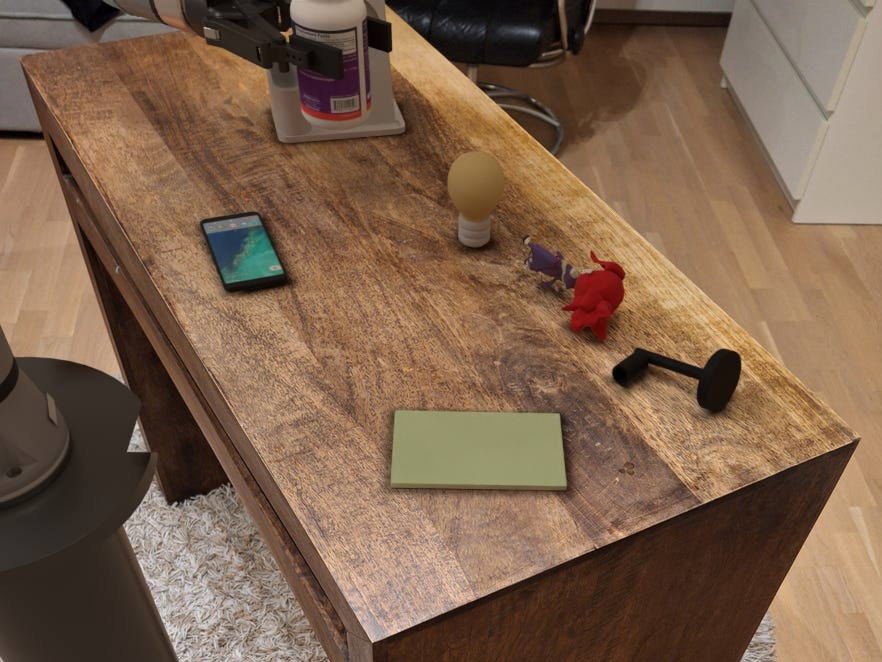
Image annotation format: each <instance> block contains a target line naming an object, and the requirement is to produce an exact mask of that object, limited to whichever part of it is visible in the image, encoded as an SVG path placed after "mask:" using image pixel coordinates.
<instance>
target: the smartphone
mask: <svg viewBox="0 0 882 662" xmlns="http://www.w3.org/2000/svg"><path fill="white" fill-rule="evenodd" d="M199 226H200V228H201V231H202V234H203V237H204V239H205V242H206V245H207V247H208V250H209V252H210V255H211V259H212V261H213V264H214V266H215V268H216V273H217V275H218V277H219V279H220V282H221V284H222V287H223V289H224V291H225V292H226V293H229V294H233V293H238V292H239V293H240V292H244V291H245V292H246V291H250V290H256V289H263V288H266V287H272V286H277V285H282V284H286V283H287V282H288V280H289V275H288V273H287V270H286V269H285V266H284V264H283V261H282V260H281V257H280V255H279V253H278V251H277V249H276V247H275V244H274V241H273V240H272V238H271V235H270V233H269V230H268V229H267V227H266V224H265V222H264V220H263V217H262V216H261V213H259V212H258V211H245V212H239V213H232V214H226V215H221V216H214V217H208V218H202V219H201V220H200V221H199Z"/></svg>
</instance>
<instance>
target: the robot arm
mask: <svg viewBox="0 0 882 662" xmlns="http://www.w3.org/2000/svg"><path fill="white" fill-rule="evenodd" d="M102 1H103V2H104V3H105V4H107V5H108V6H111V7H113V8H114V9H115V8H116V9H118V10H120V11H122V12H123V13H125V14H127V15H129V16H131V17H137V18H141V19H146V20H149V21H151V22H152V21H153V22H156V23H158V24H162V25H164V26H168V27H169V28H172V29H173V28H174V29H176V30H179V31H181V32H185V33H188V34H189V36H190V37H192V38H195V37H200V38H202V39H203V40H205V44H206V45H208V46H212V47H215V48H219V49H223V50H225V51H227V52H229V53H230V54H233V55H235V56H238V57H239V58H241V59H243V60H244V61H245V60H246V61H247V62H249V63H251V64H254V65H256V66H258V67H259V68H261V69H263V70H266V69H271V68H273V63H274V62H277V63H278V66H279V72H281V73H287V72H289V71H290V67H289V63H291V64H292V65H295V66H298V67H301V68H304V69H307V70H310V71H313V72H316V73H319V74H322V75H325V76H328V77H331V78H334V79H337V80H342V79H344V65H343V51H342V49H339V48H336V47H333V46H330V45H327V44H324V43H321V42H318V41H314V40H311V39H308V38H305V37H302V36H299V35H296V34H293V33H291V34H289V35H288V41H287V36H285V35H284V34H283V33H287V32H288V31H289V29H292V24H291V15H290V5H291V2H292V0H102ZM278 7H279V9H280V15H279V14H278ZM392 24H393V23H392V22H390V21H387V20H386V21H383V20H380V19H377V18H374V17H370V16H367V31H368V47H371V48H374V49H377V50H380V51H383V52H387V53H389V54H390V53H392V52H393V26H392ZM15 357H16V356H14V353H13V351H12V347H11V346H10V343H9V341H8V339H7V337H6V335H5V331H4V330H3V327H2V325H1V324H0V510H2V509H5V508H8V507H11V506H14V505H16V504H19V503H21V502H23V501H25V500H27V499H29V498H31V497H33V496H35V495H36V494H38V493H39V492H41V491H42V490H44V489H45V488H46V487H48V486H49V485H50V484H51V483H52V482H53V481H54V480H55V479H56V478H57V477H58V476H59V475H60V474H61V473H62V471H63V470H64V469H65V467H66V465H67V463H68V461H69V459H70V456H71V453H72V447H73V441H72V436H71V433H70V430H69V428H68V425H67V423H66V421H65V419H64V417H63V415H62V414H61V413H60V411H59V409H58V408H57V407H56V406H55V403H54V400H53V398H52V397H51V396H50V395H49V394H48V393H47V397H46V396H45V395H44V394H43V393H42V392H41V391H40V390H39V389H38V387H37V386H36V385H35V384H34V383H33V382H32V381H31V380H30V379H29V378H28V377H27V376H26V375H25V373H24V372H23V371H22V370H21V369H20V368H19V366H18V364H17V362H16V360H15Z"/></svg>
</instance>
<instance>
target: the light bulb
mask: <svg viewBox="0 0 882 662" xmlns="http://www.w3.org/2000/svg"><path fill="white" fill-rule="evenodd" d="M446 183H447V184H446V185H447V192H448V195H449V198H450V200H451V202H452V203H453V205H454V206H455V207H456V209H457V210H458V211H459V214H458V225H457V226H458V227H457V229H458V233H457V237H458V240H459V241H460V243H462V244H463V245H464V246H466V247H470V248H480V247H483V246H484V245H487V244H488V243H489V241H490V239H491V227H492V225H491V222H492V216H491V213H492V212H493V211H494V210H495V208H496V207H497V206H498V204H499V203H500V202H501V200H502V197H503V195H504V192H505V186H506V185H505V184H506V182H505V173H504V170H503V167H502V166H501V164H500V162H499V160H497V158H495V156H493V155H491V154H489V153H486V152H483V151H476V150H473V151H467V152H464V153H462V154H461V155H459V156H458V157H457V158H456V159H455V160H454V161H453V163H452V165H451V166H450V169H449V171H448V175H447V181H446Z"/></svg>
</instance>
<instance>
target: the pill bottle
mask: <svg viewBox="0 0 882 662" xmlns="http://www.w3.org/2000/svg"><path fill="white" fill-rule="evenodd" d="M290 15H291V24H292V28H291V32H292V33H291V34H296V35H299V36H302V37H305V38H308V39H311V40H314V41H318V42H321V43H324V44H327V45H330V46H333V47H336V48H339V49H342V51H343V65H344V79H342V80H337V79H334V78H331V77H328V76H325V75H322V74H319V73H316V72H313V71H310V70H307V69H304V68H301V67H298V66H296V69H297V77H298V86H299V95H300V104H301V111H302V114H303V116H304V117H305V119H306V120H307V121H308V122H309V123H311V124H313V125H314V126H317V127H320V128H323V129H329V130H348V129H352V128H355V127H357V126H359V125H361V124H363V123H364V122H365V121H366V120H367V119H368V118H369V116H370V114H371V87H370V68H369V49H368V31H367V11H366V6H365V3H364V1H363V0H292V2H291V5H290Z"/></svg>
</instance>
